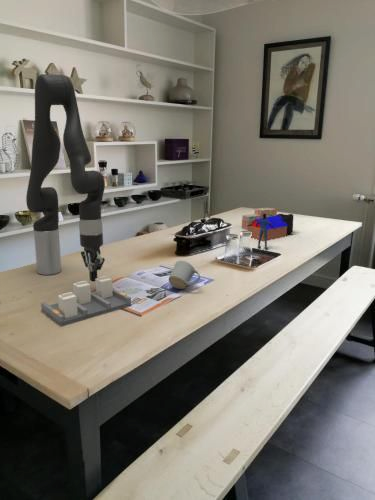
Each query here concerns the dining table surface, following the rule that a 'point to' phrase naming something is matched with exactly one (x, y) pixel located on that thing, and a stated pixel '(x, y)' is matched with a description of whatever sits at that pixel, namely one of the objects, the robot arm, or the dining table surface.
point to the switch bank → (88, 307)
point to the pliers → (205, 208)
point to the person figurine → (263, 230)
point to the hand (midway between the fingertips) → (93, 280)
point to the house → (269, 228)
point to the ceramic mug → (182, 275)
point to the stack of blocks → (257, 216)
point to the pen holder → (288, 222)
